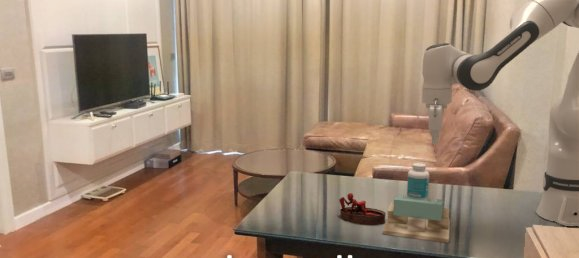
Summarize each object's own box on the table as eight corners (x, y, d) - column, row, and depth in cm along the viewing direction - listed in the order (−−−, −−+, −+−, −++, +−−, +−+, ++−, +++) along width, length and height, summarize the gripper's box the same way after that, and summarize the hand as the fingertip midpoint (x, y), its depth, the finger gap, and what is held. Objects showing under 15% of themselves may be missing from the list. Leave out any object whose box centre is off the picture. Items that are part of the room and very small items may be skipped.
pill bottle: (430, 204, 170) (432, 167, 168) (409, 204, 171) (411, 167, 168) (424, 197, 178) (426, 161, 175) (404, 197, 178) (406, 161, 175)
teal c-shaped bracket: (442, 207, 154) (443, 192, 153) (441, 220, 143) (442, 204, 142) (397, 202, 158) (398, 187, 157) (393, 215, 147) (393, 199, 146)
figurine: (337, 224, 153) (337, 191, 156) (340, 226, 162) (340, 194, 165) (385, 226, 150) (385, 192, 153) (385, 227, 159) (385, 195, 162)
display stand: (449, 222, 154) (450, 207, 153) (448, 243, 139) (449, 226, 138) (389, 215, 160) (390, 200, 159) (382, 234, 146) (383, 218, 145)
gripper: (447, 101, 138) (445, 148, 141) (447, 93, 157) (446, 134, 160) (424, 101, 140) (423, 147, 143) (427, 92, 159) (426, 133, 162)
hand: (435, 140), depth 151 cm, fingers open, 8 cm apart
